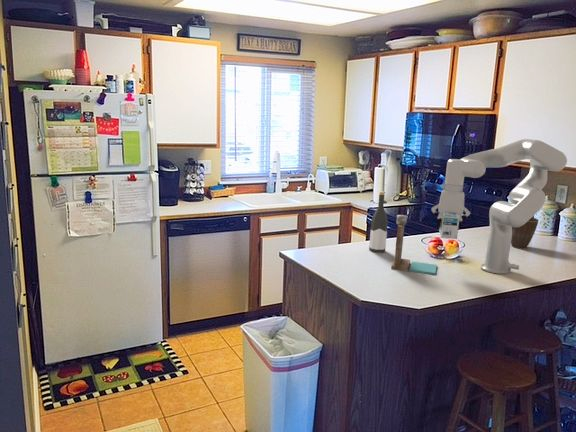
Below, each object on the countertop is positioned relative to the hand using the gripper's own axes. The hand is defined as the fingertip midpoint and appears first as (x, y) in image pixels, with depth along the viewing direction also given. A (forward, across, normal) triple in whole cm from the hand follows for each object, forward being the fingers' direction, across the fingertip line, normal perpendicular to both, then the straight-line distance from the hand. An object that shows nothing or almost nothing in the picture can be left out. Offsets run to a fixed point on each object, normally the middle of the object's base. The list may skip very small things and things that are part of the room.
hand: (448, 228), depth 216 cm
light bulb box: (+4, 0, 0) cm, 4 cm away
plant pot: (+19, +38, +64) cm, 77 cm away
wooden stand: (+20, -19, 0) cm, 27 cm away
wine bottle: (+20, -32, +21) cm, 44 cm away
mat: (+20, -9, 0) cm, 22 cm away
